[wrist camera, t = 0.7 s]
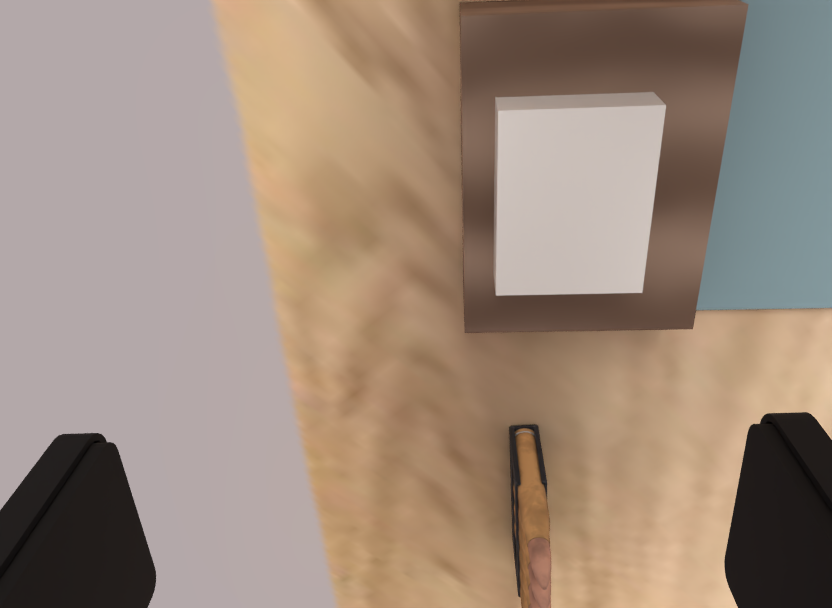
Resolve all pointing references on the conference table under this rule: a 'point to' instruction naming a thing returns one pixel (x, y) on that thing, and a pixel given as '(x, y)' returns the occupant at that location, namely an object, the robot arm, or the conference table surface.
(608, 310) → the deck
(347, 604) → the conference table surface
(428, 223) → the conference table surface
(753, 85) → the mat
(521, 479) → the ammunition clip
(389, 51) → the conference table surface
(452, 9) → the conference table surface
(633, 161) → the white rectangular block
